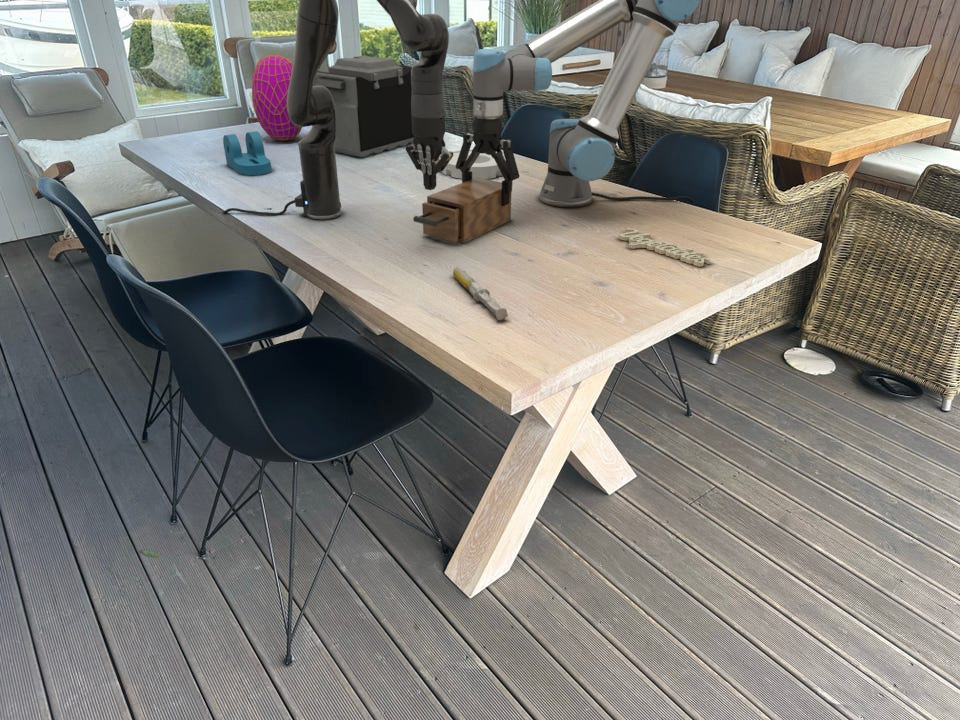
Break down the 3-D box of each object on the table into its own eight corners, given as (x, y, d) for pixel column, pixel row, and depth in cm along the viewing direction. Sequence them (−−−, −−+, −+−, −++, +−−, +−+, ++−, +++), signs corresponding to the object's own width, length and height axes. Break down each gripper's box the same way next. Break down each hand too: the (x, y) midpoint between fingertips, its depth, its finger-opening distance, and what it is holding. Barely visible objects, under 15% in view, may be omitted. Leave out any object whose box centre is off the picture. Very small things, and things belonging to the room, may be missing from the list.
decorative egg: (293, 132, 276) (283, 50, 261) (319, 140, 264) (310, 56, 249) (249, 139, 265) (236, 54, 250) (273, 148, 253) (261, 60, 238)
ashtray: (443, 160, 241) (442, 148, 239) (509, 161, 240) (509, 149, 238) (437, 178, 221) (437, 166, 219) (509, 180, 220) (509, 167, 218)
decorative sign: (605, 235, 174) (629, 227, 180) (604, 239, 175) (629, 230, 181) (694, 266, 158) (718, 256, 163) (693, 270, 158) (717, 260, 164)
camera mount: (227, 164, 233) (221, 132, 227) (257, 160, 238) (252, 129, 233) (244, 176, 220) (239, 143, 215) (276, 172, 225) (271, 139, 220)
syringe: (449, 274, 155) (449, 263, 153) (465, 272, 156) (464, 260, 154) (490, 323, 135) (491, 310, 133) (508, 319, 136) (508, 307, 134)
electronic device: (383, 133, 276) (378, 52, 261) (425, 141, 265) (422, 56, 250) (314, 150, 251) (304, 61, 235) (358, 160, 240) (350, 67, 224)
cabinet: (463, 243, 172) (463, 204, 167) (428, 234, 178) (426, 196, 172) (510, 220, 187) (511, 184, 182) (476, 212, 193) (476, 177, 188)
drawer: (440, 249, 166) (440, 217, 162) (408, 240, 171) (406, 209, 167) (500, 220, 184) (501, 191, 180) (469, 213, 189) (469, 184, 185)
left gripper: (394, 112, 155) (398, 188, 164) (440, 119, 149) (442, 198, 157) (416, 107, 161) (418, 180, 169) (461, 114, 154) (461, 190, 163)
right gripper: (441, 112, 177) (442, 195, 188) (519, 124, 165) (516, 212, 176) (458, 108, 182) (459, 189, 193) (535, 119, 171) (531, 205, 182)
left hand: (430, 189), depth 163 cm, fingers closed
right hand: (486, 200), depth 185 cm, fingers closed on cabinet, 11 cm apart
